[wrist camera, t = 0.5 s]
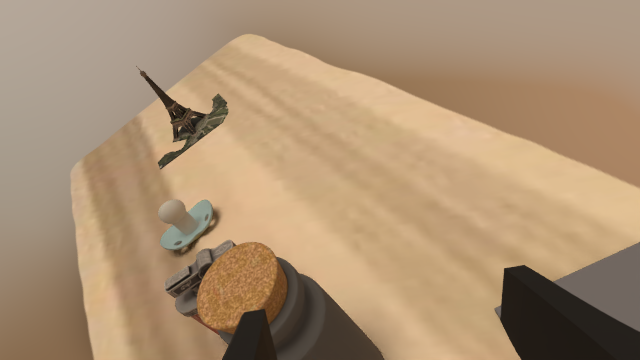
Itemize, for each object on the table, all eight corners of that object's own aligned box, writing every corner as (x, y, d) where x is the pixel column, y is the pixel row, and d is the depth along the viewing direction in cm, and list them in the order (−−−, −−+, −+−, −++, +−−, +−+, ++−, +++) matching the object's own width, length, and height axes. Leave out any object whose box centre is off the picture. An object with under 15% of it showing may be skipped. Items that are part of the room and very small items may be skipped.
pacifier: (165, 239, 52) (179, 263, 47) (129, 210, 48) (140, 233, 43) (209, 199, 53) (226, 219, 48) (177, 168, 49) (193, 186, 44)
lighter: (297, 277, 38) (237, 216, 32) (310, 305, 35) (247, 245, 29) (226, 325, 38) (151, 274, 32) (233, 357, 35) (153, 308, 29)
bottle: (401, 398, 28) (298, 302, 18) (326, 436, 28) (187, 363, 18) (370, 323, 32) (274, 213, 22) (306, 358, 32) (184, 265, 23)
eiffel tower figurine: (161, 173, 64) (94, 110, 55) (151, 147, 71) (91, 88, 63) (237, 114, 65) (184, 44, 56) (220, 95, 73) (170, 30, 64)
